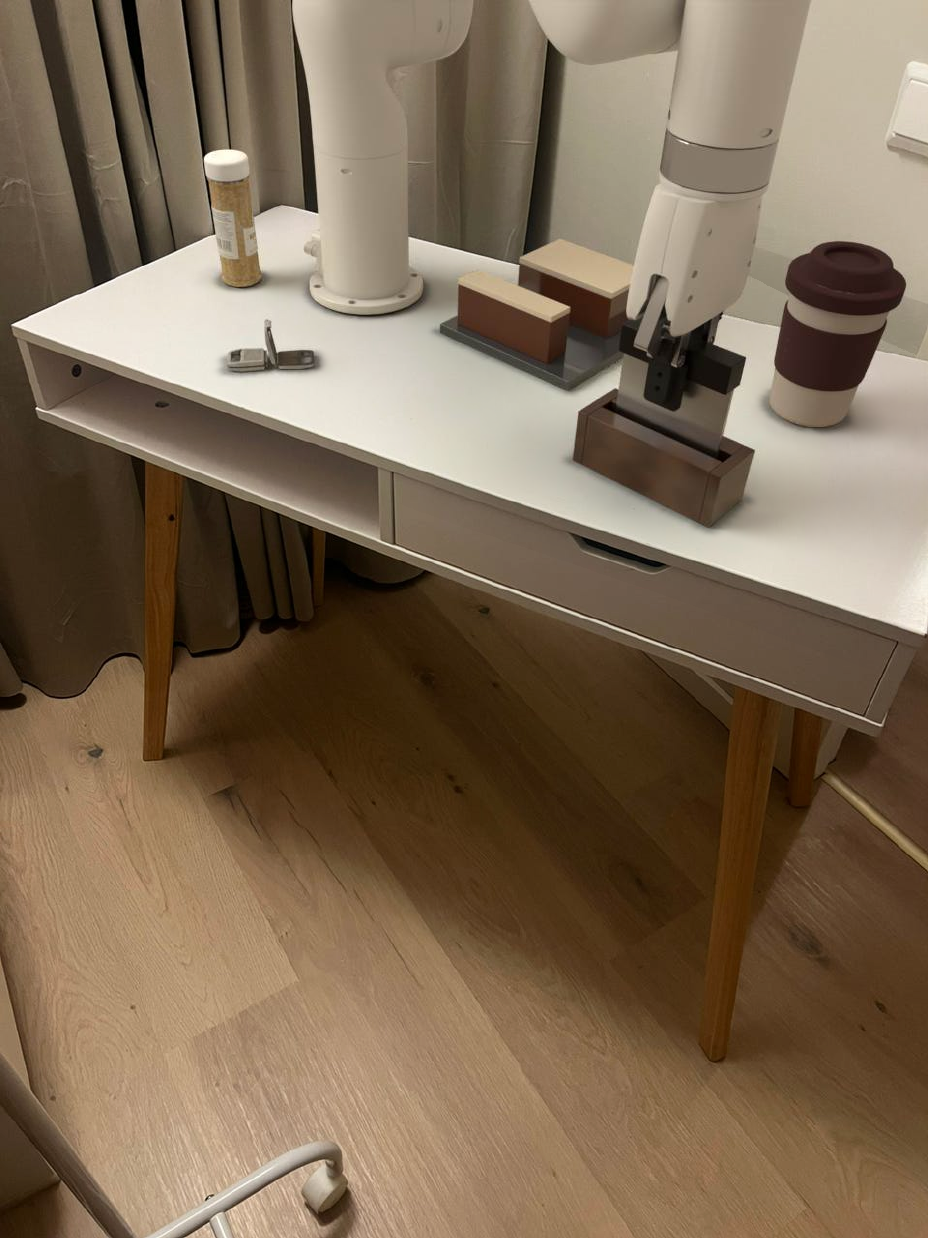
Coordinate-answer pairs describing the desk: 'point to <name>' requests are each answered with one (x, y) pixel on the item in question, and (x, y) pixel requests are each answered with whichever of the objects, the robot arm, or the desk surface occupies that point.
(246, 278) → the sprinkles bottle
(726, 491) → the block
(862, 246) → the coffee cup
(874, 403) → the desk surface
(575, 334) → the cake board
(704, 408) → the bench scraper
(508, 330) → the cake slice
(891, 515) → the desk surface
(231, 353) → the strap clip
